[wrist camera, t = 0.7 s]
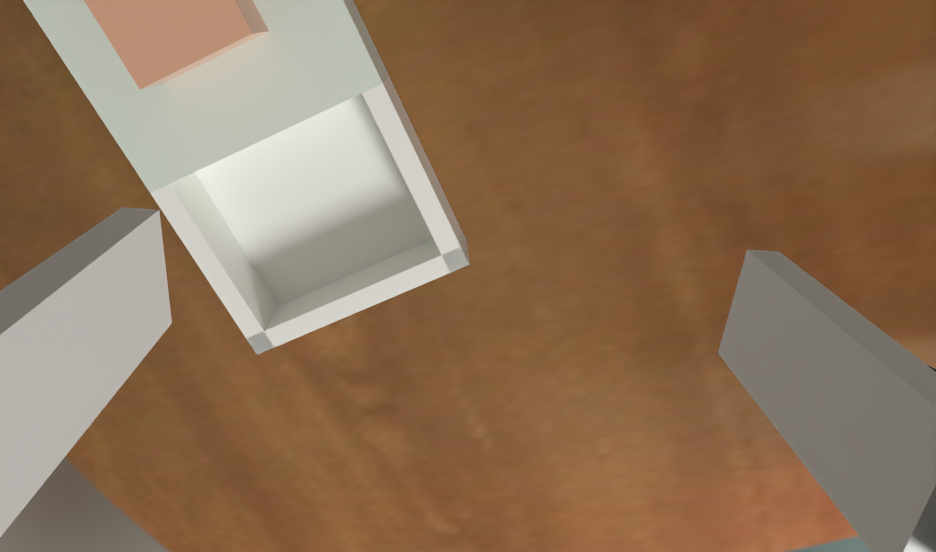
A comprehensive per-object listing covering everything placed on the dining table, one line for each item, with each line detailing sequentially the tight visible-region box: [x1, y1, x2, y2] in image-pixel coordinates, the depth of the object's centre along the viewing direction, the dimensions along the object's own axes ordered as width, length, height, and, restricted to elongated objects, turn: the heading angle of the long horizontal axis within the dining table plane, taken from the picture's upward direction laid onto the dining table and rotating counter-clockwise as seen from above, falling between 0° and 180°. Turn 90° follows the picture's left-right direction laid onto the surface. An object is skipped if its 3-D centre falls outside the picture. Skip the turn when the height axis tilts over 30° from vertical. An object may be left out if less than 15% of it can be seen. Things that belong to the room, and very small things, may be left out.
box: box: [151, 76, 469, 354], centre depth 38 cm, size 11×14×4 cm
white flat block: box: [23, 0, 389, 193], centre depth 33 cm, size 14×14×4 cm
